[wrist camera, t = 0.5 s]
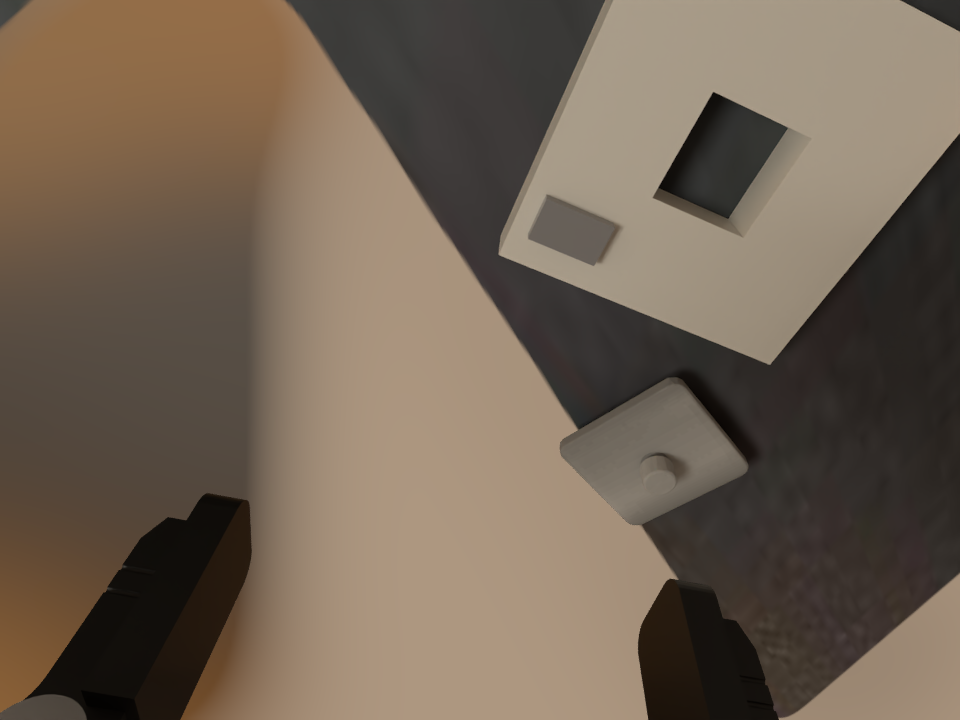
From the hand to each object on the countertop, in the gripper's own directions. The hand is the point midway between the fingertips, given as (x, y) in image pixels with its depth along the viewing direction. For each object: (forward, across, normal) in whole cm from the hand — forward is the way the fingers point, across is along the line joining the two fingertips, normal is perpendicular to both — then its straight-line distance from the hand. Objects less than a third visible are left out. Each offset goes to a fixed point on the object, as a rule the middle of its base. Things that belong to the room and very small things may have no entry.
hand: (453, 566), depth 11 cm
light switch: (+28, -14, +17) cm, 35 cm away
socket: (+27, -11, -3) cm, 30 cm away
